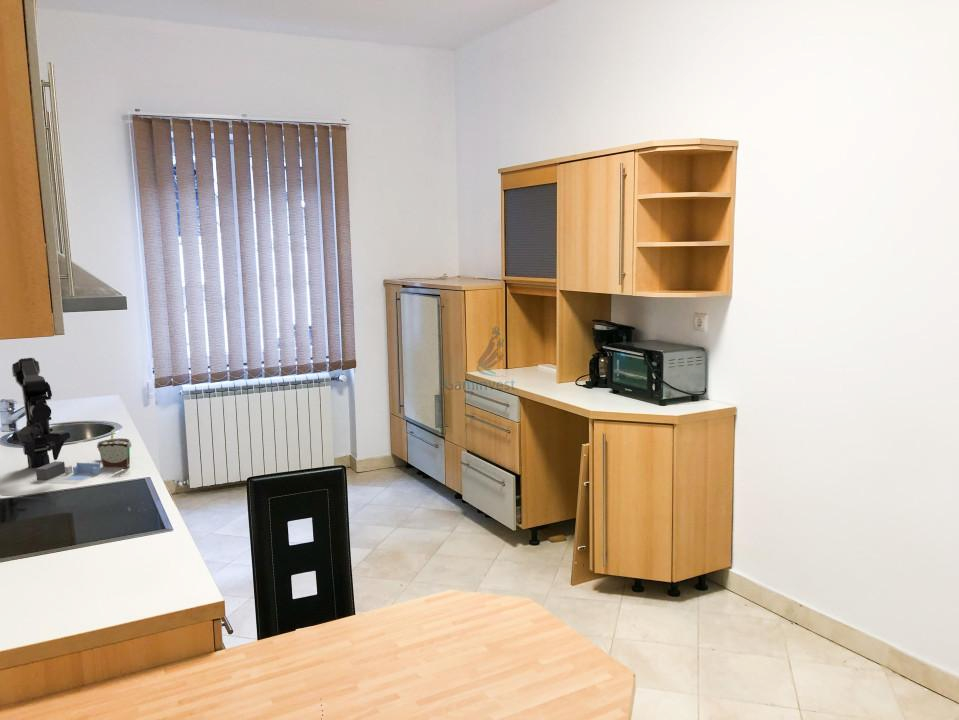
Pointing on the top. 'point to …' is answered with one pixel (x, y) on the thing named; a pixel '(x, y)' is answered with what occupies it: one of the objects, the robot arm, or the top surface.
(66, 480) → the miniature room diorama
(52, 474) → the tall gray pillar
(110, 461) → the food container
